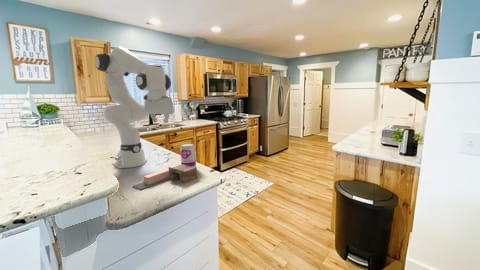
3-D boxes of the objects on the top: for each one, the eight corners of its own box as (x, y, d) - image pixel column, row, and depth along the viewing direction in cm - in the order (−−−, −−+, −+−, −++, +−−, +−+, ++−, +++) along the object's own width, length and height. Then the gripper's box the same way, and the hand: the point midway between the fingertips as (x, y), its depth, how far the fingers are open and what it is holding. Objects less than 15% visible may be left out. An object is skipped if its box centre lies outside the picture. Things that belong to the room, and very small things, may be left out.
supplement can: (192, 172, 122) (191, 146, 119) (179, 171, 123) (177, 146, 121) (198, 167, 129) (196, 143, 127) (185, 167, 131) (183, 143, 129)
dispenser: (169, 179, 112) (168, 167, 111) (183, 174, 119) (182, 162, 118) (183, 183, 105) (182, 170, 104) (197, 177, 113) (196, 165, 112)
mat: (132, 187, 103) (132, 185, 103) (161, 176, 116) (161, 175, 116) (140, 190, 99) (140, 189, 99) (169, 179, 112) (169, 178, 112)
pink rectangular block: (144, 183, 106) (143, 176, 105) (167, 174, 117) (167, 168, 117) (148, 184, 104) (148, 177, 103) (172, 175, 115) (172, 169, 115)
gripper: (175, 95, 108) (177, 122, 111) (152, 96, 120) (154, 121, 122) (165, 95, 103) (167, 123, 106) (141, 96, 115) (144, 122, 117)
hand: (160, 122), depth 114 cm, fingers open, 8 cm apart
